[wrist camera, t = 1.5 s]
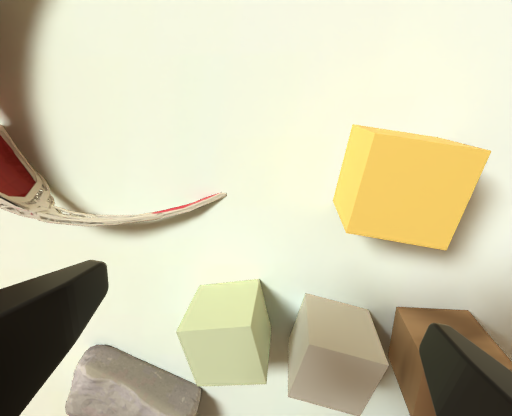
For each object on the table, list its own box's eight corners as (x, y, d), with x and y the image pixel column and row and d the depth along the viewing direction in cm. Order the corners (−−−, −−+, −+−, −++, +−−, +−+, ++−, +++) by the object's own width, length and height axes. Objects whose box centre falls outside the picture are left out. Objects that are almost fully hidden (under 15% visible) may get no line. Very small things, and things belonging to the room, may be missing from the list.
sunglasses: (-88, -56, 16) (-218, -120, 12) (200, -72, 17) (186, -140, 12) (20, 215, 23) (-37, 245, 18) (230, 197, 23) (228, 221, 18)
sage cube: (259, 278, 22) (250, 326, 17) (271, 328, 24) (266, 384, 19) (199, 284, 23) (176, 331, 18) (215, 332, 24) (197, 386, 20)
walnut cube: (467, 309, 21) (518, 369, 16) (453, 359, 22) (495, 427, 18) (396, 306, 21) (425, 363, 17) (387, 355, 23) (411, 419, 18)
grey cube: (368, 309, 22) (388, 365, 17) (346, 354, 24) (359, 416, 19) (305, 292, 22) (309, 344, 17) (288, 338, 24) (287, 396, 19)
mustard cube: (436, 137, 17) (491, 151, 12) (407, 213, 19) (446, 250, 14) (352, 124, 17) (375, 133, 12) (332, 200, 19) (346, 232, 14)
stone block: (185, 418, 32) (210, 384, 27) (163, 471, 28) (188, 445, 23) (92, 372, 32) (98, 329, 26) (57, 420, 28) (56, 380, 22)
